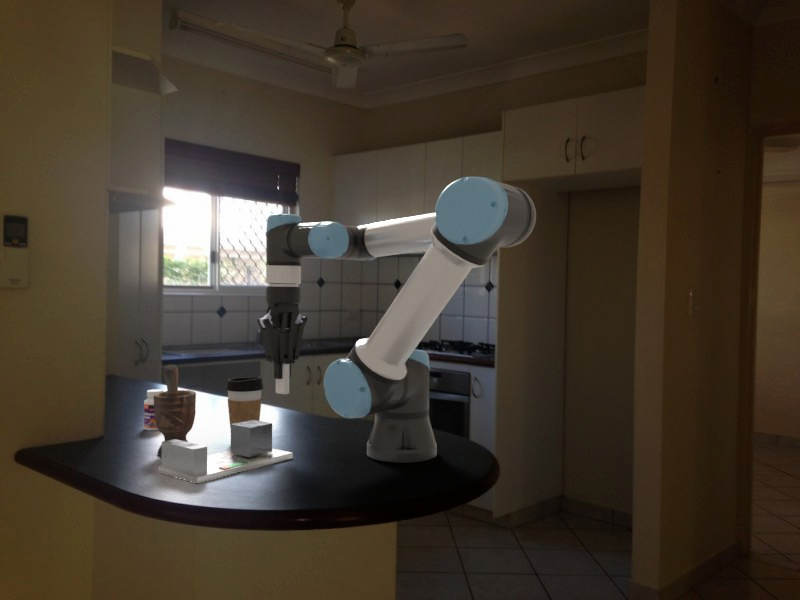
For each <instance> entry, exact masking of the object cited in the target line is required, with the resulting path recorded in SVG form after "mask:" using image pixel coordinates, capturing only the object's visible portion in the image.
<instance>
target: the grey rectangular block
mask: <svg viewBox="0 0 800 600" xmlns="http://www.w3.org/2000/svg"><path fill="white" fill-rule="evenodd" d="M272 448H273V423H272V422H266V421H261V420H259V421H257V420H250V421H244V422H239V423H234V424H231V428H230V450H231V453H233V454H238V455H242V456H246V457H253V456H257V455H261V454H267V455H268V454H270V452H272Z"/></svg>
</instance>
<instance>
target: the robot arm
mask: <svg viewBox="0 0 800 600" xmlns="http://www.w3.org/2000/svg"><path fill="white" fill-rule="evenodd" d="M536 221H537V211H536V207H535V204H534V202H533V200H532V198H531V197H530V195H529V194H528V193H527V192H526V191H524V189H522V188H520V187H517V186H515V185H511V184H507V183H504V182H500V181H497V180H496V181H495V180H494V179H492V178H488V177H483V176H464V177H461V178H458V179H456V180H454V181H453V182H450V184H448V185H447V186H446V187H445V188H444V189H443V190H442V192H441V193H440V195H439V196H438V199H437V201H436V203H435V209H434V212H431V213H430V212H429V213H423V214H419V215H414V216H413V215H412V216H407V217H401V218H395V219H389V220H385V221H379V222H373V223H369V224H362V225H356V226H355V225H345V224H342V223H340V222H339V221H338V222H337V221H326V220H324V221H318V222H303V223H302V216H300V215H298V214H293V213H292V214H291V213H274V214H273V213H272V214H270V215H269V216H268V217H267V220H266V232H265V236H266V237H265V238H266V239H265V241H266V244H265V245H266V246H265V248H266V249H265V250H266V252H265V253H266V259H265V260H266V263H265V264H266V267H265V268H266V271H265V277H266V278H265V279H266V280H265V282H266V284H268V286H266V288H265V302H266V303H267V309H266V313H265V315H264V316H263V317H259V318H257V319H256V320H257V324H258V326H259V327H260V330H261V337H262V341H263V347H264V353H265V360H266V361H267V362H270V363H271V364H273V377H274V379H275V394H278V395H279V394H280V395H288V394H290V378H291V376H292V364H295V363H296V360H298V359H299V358H300V352H301V346H302V342H303V335H304V331H305V326H306V324H307V322H308V317H307V316H303V315H302V314H301V313H300V309H299V304H301V301H302V300H301V298H302V296H301V295H302V289H301V287H300V286H299V285H301V284H302V259H324V260H326V259H327V260H328V259H329V260H348V261H349V260H351V261H358V262H367V261H373V260H375V259H377V258H381V257H387V256H388V257H389V256H393V255H396V256H397V255H400V254H401V255H402V254H408V253H417V252H424V251H425V253H424V255H423V256H422V258H421V259H420V261H419V262H418V264H417V266H415V268H414V270H413V271H412V273H410V275H409V277H408V279H407V280H406V282H405V283H404V285H403V286H402V288H401V289H400V291H399V292H398V294H397V295H396V297H395V298H394V300H393V301H392V303H391V304H390V306H389V307H388V308H387V310H386V312H385V313H384V314H383V317H381V319H380V320H379V322H378V323H377V325H376V326H375V328H374V330H373V331H372V333H371V335H370V336H369V337H364V338H360V339H358V340H357V341H356V342H355V344H354V346H353V347H352V349H351V350H350V351H349V353H348V355H347V356H346V357H345V358H339V359H337V360H334V361H333V362H331V363H330V364H329V365H328V366H327V367H326V371H325V373H324V375H323V376H324V377H323V388H324V395H325V398H326V401H327V402H328V404H329V406H330V408H331V409H332V410H333V412H335V413H336V414H338V415H339V416H341V417H343V418H346V419H356V418H357V419H360V418H364V417H367V416H371V415H375V417H374V421H373V423H372V424H373V425H372V428H371V431H370V433H369V437H368V440H367V443H366V455H367V457H369V458H370V459H373V460H375V461H376V460H377V461H381V462H387V463H406V464H407V463H420V462H425V461H429V460H432V459H435V458H436V457H437V455H438V453H437V451H438V449H437V448H438V447H437V442H436V439H435V434H434V431H433V428H432V424H431V421H430V371H431V366H430V356H429V354H428V352H426V351H425V350H422V349H416V348H417V347H418V346H419V344H420V343H421V341H422V340H423V338H424V337H425V335H426V334H427V333H428V332H429V330H430V328H431V327H432V326H433V324H434V323H435V321H436V319H438V317H439V316H440V314H441V313H442V311H443V310H444V309H445V308H446V306H447V304H448V303H449V302H450V300H451V299H452V297H453V296H454V295H455V293H456V291H457V290H458V289H459V287H460V286H461V285H462V283H463V282H464V281H465V279H466V277H467V276H468V275H469V273H470V272H471V270H472V269H477V268H482V267H484V266H485V265H486V264H487V262H488V261H489V260H490V258H492V255H494V252H495V251H496V250H497V248H511V247H514V246H515V247H516V246H517V245H520V244H521V243H523V242H524V241H525V240H527V239H528V237H529V236H530V235H531V234H532V232H533V230H534V228H535V225H536Z"/></svg>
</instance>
